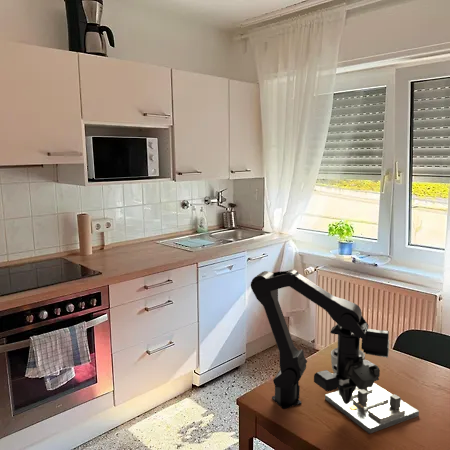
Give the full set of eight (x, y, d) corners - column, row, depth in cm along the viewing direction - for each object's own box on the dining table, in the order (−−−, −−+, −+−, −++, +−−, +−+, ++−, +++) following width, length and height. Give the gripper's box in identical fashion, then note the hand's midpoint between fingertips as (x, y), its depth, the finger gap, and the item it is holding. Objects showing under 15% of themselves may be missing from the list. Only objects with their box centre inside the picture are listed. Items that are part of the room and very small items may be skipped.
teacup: (357, 387, 131) (358, 363, 130) (324, 377, 138) (325, 354, 137) (371, 370, 142) (372, 348, 141) (341, 361, 149) (341, 340, 148)
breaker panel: (369, 433, 109) (369, 424, 108) (325, 399, 125) (325, 391, 124) (418, 415, 116) (419, 407, 116) (370, 385, 132) (371, 377, 132)
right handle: (395, 409, 115) (395, 399, 114) (389, 405, 117) (390, 395, 116) (400, 407, 116) (400, 397, 115) (394, 404, 117) (394, 394, 117)
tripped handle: (362, 403, 118) (362, 393, 117) (357, 400, 119) (357, 390, 119) (367, 402, 118) (367, 392, 118) (362, 398, 120) (362, 388, 120)
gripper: (341, 370, 103) (339, 428, 105) (396, 355, 111) (393, 410, 113) (313, 352, 113) (311, 405, 115) (366, 339, 121) (363, 390, 123)
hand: (346, 403), depth 116 cm, fingers closed
